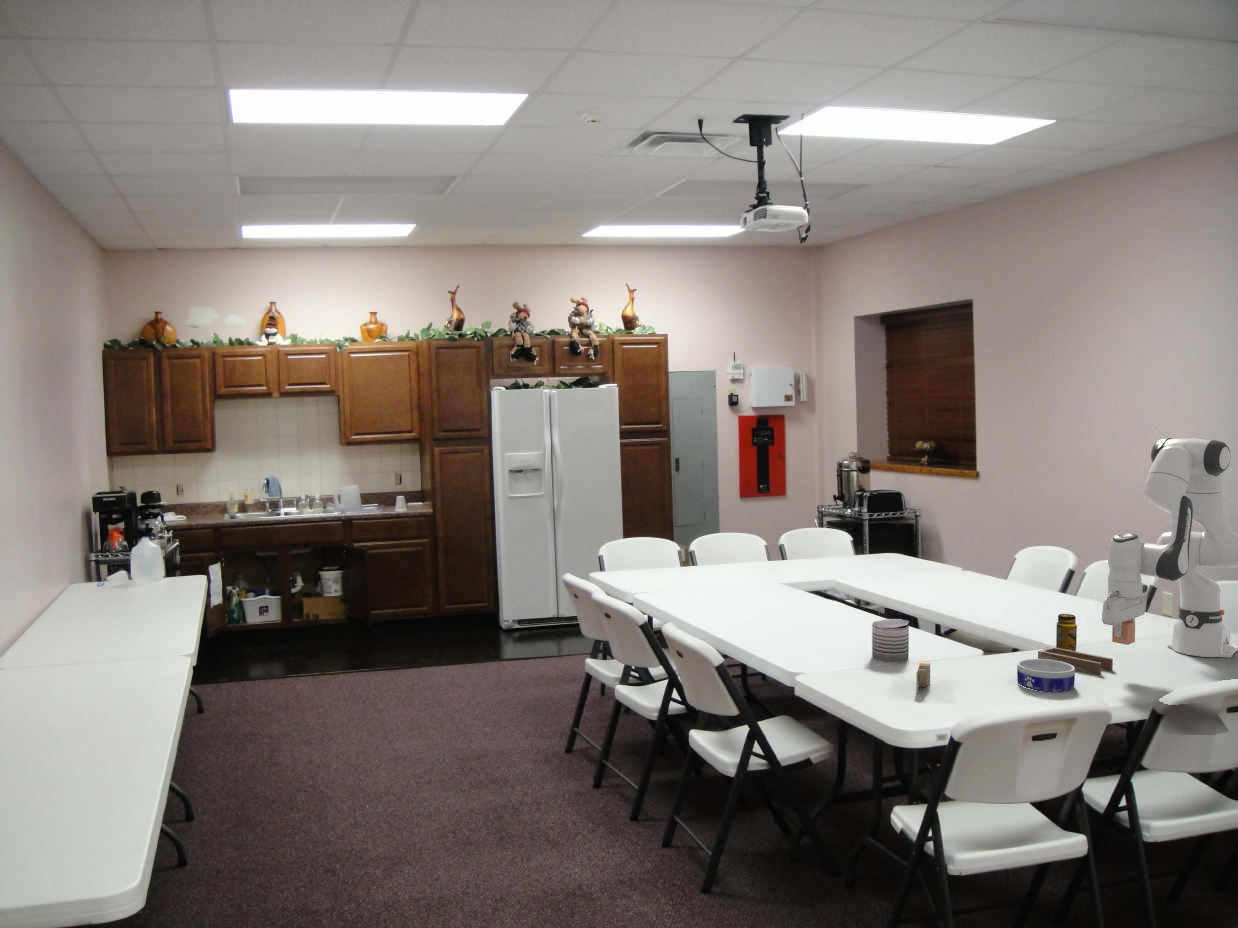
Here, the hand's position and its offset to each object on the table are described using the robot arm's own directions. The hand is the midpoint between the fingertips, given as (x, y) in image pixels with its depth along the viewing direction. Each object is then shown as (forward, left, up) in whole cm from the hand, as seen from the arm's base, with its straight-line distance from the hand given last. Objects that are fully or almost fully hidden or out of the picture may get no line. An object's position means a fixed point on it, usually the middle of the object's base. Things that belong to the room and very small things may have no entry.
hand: (1123, 634), depth 294 cm
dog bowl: (+27, -10, -13) cm, 31 cm away
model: (+56, -30, -13) cm, 65 cm away
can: (+36, -57, -13) cm, 68 cm away
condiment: (-14, -26, -13) cm, 32 cm away
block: (0, 0, -2) cm, 2 cm away
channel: (+1, -14, -12) cm, 19 cm away
